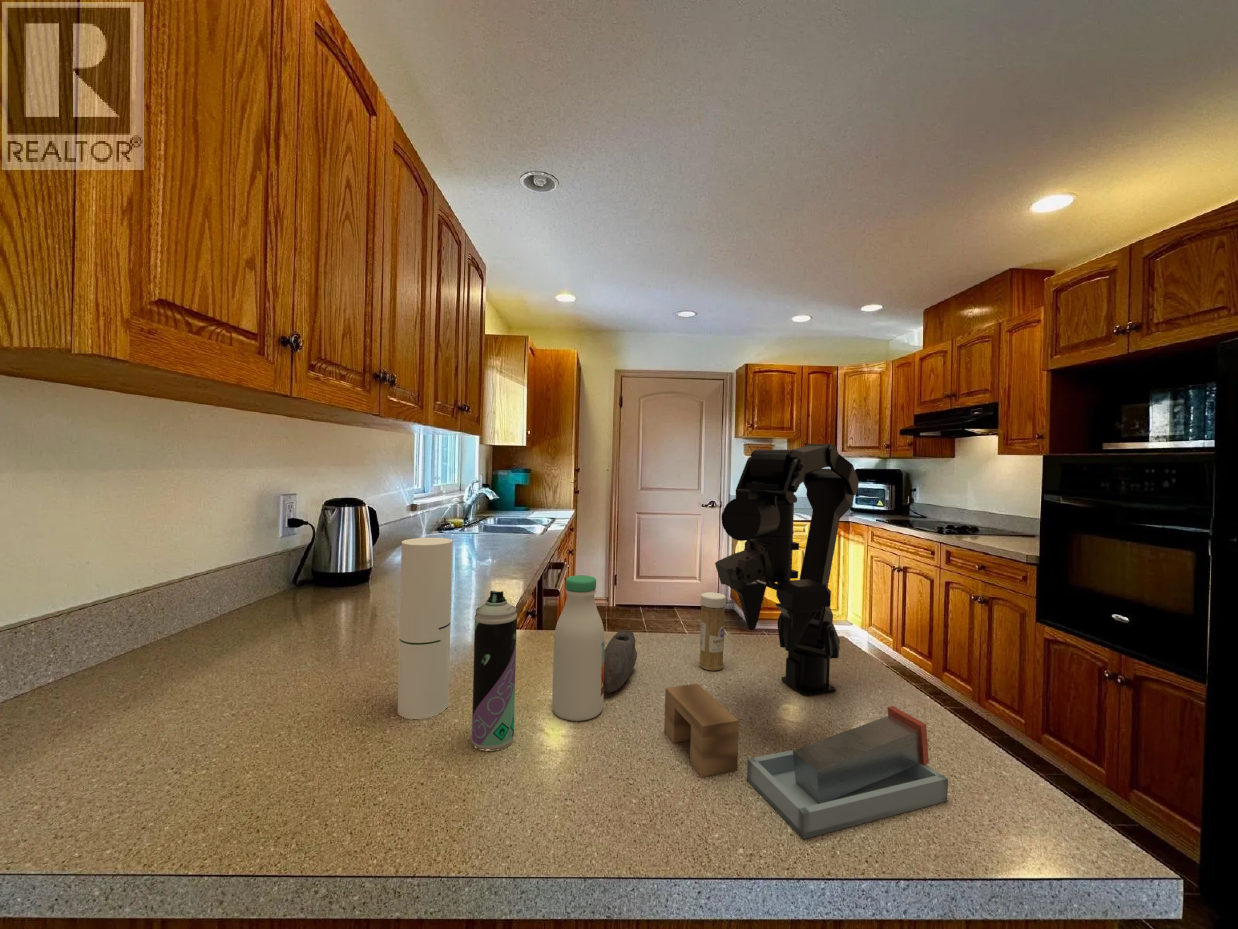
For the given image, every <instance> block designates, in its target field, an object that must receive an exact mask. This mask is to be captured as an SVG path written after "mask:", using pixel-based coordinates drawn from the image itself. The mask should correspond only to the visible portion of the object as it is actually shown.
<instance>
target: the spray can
mask: <svg viewBox="0 0 1238 929" xmlns="http://www.w3.org/2000/svg"><path fill="white" fill-rule="evenodd" d="M489 593H490V594H489V597H488V599H486V600H485V603H484V604H482V605H480V606H478V607H477V608H476V609H475V615H474V629H473V630H474V632H473V633H474V634H473V636H474V637H473V671H472V673H473V674H472V677H473V678H472V679H473V680H472V710H471V711H472V714H471V715H472V717H471V744H472V743H473V745H474V746H476V747H477V748H479V749H484V750H486V749H490V750H497V749H501V750H504V749H506V748H507V746H508V747H509V746H510V745H511V744H512V743H513V742H514V738H515V737H514V736H515V707H516V705H515V702H516V701H515V699H516V666H517V664H516V662H517V629H518V628H517V627H518V626H517V624H518V621H517V620H518V613H517V607H516V606H515V605H512V604H511V603H509V602H508V600H507V599H506V597H505V596H504V591H503V590H502V591H496V590H490V592H489ZM473 745H472V746H473ZM503 748H504V749H503Z"/></svg>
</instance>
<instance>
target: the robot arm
mask: <svg viewBox="0 0 1238 929" xmlns="http://www.w3.org/2000/svg"><path fill="white" fill-rule="evenodd" d="M802 483H803V485H804V486H805V487H804V488H805V489H806V494H805V495H806V498H807V500H808V502H809V505H810V506H811V510H812V514H811V518H810V522H809V528H808V533H807V538H806V542H805V543H806V544H805V550H804V554H803V558H802V565H801V569H800V570H801V571H800V575H799V571H798V570H796V569H793V551H799V550H800V543H799V542H796V541H794V517H795V516H794V514H795V512H794V511H795V503H797V502H798V498H797V496H796V495H795V493H797V492H798V490H799V487H800V485H801V484H802ZM858 490H859V479H858V474H857V472H856V468H855V467H854V464H853V463H852V462H850V461H849V460H847V458H845V457H843V456H842V455H841V454H840V453H839V451H838V448H837V446H836V445H835V444H834V445H833V444H831V443H808V445H807V444H806V445H804V446H802V447H798V448H793V449H782V448H781V449H780V448H778V449H775V448H774V449H773V448H772V449H770V448H769V449H764V448H760V449H758V448H757V449H753V450H752V452H751V453H750V456H749V457H748V458H747V460H746V462H745V464H744V467H743V469H742V473H741V475H740V478H739V481H738V483H737V486H736V488H735V498H733V499H731V500H730V501H729V502H727V503H726V505H725V507H724V508H723V510H722V512H721V525H722V527H723V529H724V531H725V533H726V534H727V535H728V536H729V537H730V538H731V539H734V540H736V541H739V542H744V549H743V550H741V551H738V552H735V553H732V554H730V555H728V556H726V557H725V556H724V558H721V559H719V560H717V561H716V562H715V563H714V565H715V568H716V572H717V576H718V578H719V583H720V584H721V585H723V586H724V585H725V586H727V587H730V588H729V589H732V590H733V591H735V592H736V593H737V596H738V600H739V603H740V606H741V610H742V613H743V617H744V619H745V623H746V626H747V630H749V631H754V630H756V629H757V625H758V621H759V617H760V613H761V609H762V606H763V603H764V598H765V594H766V590H767V588H769V589H772V590H775V591H776V598H777V600H778V601H779V603H775V606H776V607H777V609H778V610H779V611H780V613H779V615H778V619H777V632H778V640H779V646H780V648H784V649H785V651H786V652H787V657H786V658H785V676H782V677H781V681H782V682H783V683H785V684H787V685H788V686H790V687H791V688H793V689H794V690H796V691H797V692H799V693H800V694H802V695H804V696H813V695H819V694H825V693H832V692H836V690H837V688H836V687H835V686H834V685H832V684H830V666H831V664H830V662H831V659H839V658H840V648H841V647H840V644H841V640H840V637H839V635H838V632H837V630H836V627H835V624H834V623H833V622H834V613H833V611H832V609H831V598H832V596H831V594H832V591H831V590H830V589H829V583H830V577H831V576H830V575H831V570H832V565H833V558H834V554H835V547H836V543H837V536H838V530H839V524H840V519H841V518H842V517H843V516H844V515H845V514H846V513H847V512H848V511H849V510H850V509H851V508H852V506H853V502H854V499H855V496H856V495H857V494H858Z"/></svg>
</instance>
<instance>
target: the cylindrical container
mask: <svg viewBox="0 0 1238 929" xmlns="http://www.w3.org/2000/svg"><path fill="white" fill-rule="evenodd" d="M400 551H401V555H400V557H401V558H400V562H401V563H400V594H399V596H400V598H399V599H400V600H399V604H400V605H399V638H398V678H397V680H398V681H397V690H398V691H397V714H398V715H399V717H401V716H402V717H401V718H403V717H404V718H403V719H405V720H406V719H407V720H413V719H418V720H426V719H430V718H433V717H432V716H434V715H436V716H439V715H440V714H439V713H441V712H442V713H444V712H445V711H446V710H447V709H448V708H449V705H448V704H449V703H450V702H449V701H450V697H449V696H450V664H451V663H450V657H451V655H450V653H451V623H452V622H451V618H452V617H451V616H452V585H453V584H452V581H453V580H452V578H453V576H452V574H453V573H452V572H453V539H450V538H445V537H416V538H410V539H409V538H408V539H404V540H402V541H401V550H400ZM447 707H448V708H447ZM446 708H447V709H446ZM445 709H446V710H445ZM444 710H445V711H444ZM443 711H444V712H443ZM442 713H441V714H442ZM438 714H439V715H438ZM429 717H430V718H429ZM434 717H435V716H434ZM425 718H426V719H425Z"/></svg>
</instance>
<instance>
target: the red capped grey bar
mask: <svg viewBox="0 0 1238 929" xmlns="http://www.w3.org/2000/svg"><path fill="white" fill-rule="evenodd" d="M792 750H793V758H794V770H795V781H796V784H797V785H798V786H799V787H801V788H802V789H803V790H804V791H805V792H806V793H807V794H808V795H809V796H810V797H811V798H813V799H814V800H815V801H816V802H817V803H818V804H821V803H825V802H828V801H830V800H833V799H835V798H838V797H840V796H843V795H845V794H848V793H850V792H852V791H855V790H857V789H860V788H862V787H865V786H867V785H869V784H872V783H874V782H877V781H879V780H882V779H884V778H886V777H889V776H891V775H894V774H896V773H899V772H901V771H904V770H906V769H908V768H911V767H913V766H916V765H918V764H923V765H928V764H930V758H929V746H928V731H927V724H926V723H924V722H922V721H921V720H919V719H918V718H916V717H914V716H911V715H910V714H908V713H906V712H904V711H903V710H901V709H900V708H898V707H895V706H894V705H891V706H888V707H887V715H886V716H884V717H882V718H879V719H876V720H873V721H870V722H867V723H865V724H862V725H859V726H857V727H854V728H851V729H848V730H845V731H843V732H840V733H836V734H834V735H831V736H829V737H826V738H825V737H824V738H823V739H820V740H817V741H815V742H814V741H813V742H812V743H809V744H806V745H803V746H801V747H798V748H795V749H792Z"/></svg>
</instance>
